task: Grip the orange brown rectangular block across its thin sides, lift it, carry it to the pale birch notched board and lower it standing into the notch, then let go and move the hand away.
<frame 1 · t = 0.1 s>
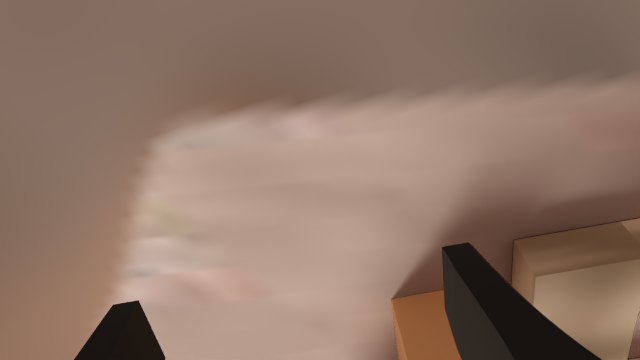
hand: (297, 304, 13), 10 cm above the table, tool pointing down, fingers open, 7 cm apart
orange brown rectangular block: (423, 328, 29), on the table
notched board: (610, 322, 30), on the table
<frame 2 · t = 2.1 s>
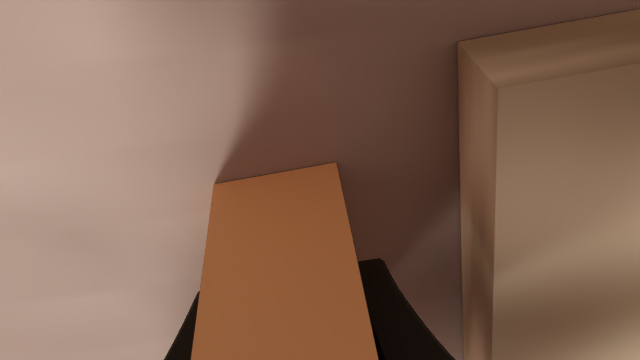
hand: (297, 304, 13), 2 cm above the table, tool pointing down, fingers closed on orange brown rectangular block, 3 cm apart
orange brown rectangular block: (293, 251, 15), on the table, touching gripper
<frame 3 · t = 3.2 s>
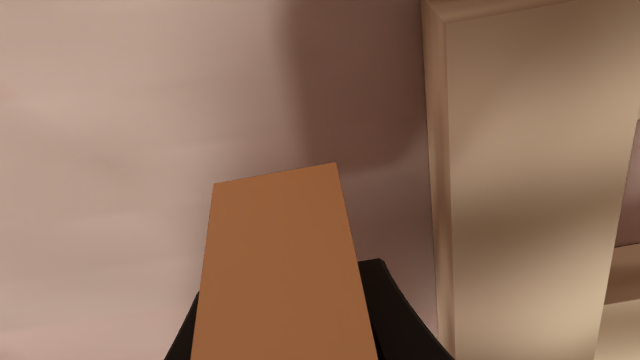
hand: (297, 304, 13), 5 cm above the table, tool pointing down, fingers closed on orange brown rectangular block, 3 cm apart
orange brown rectangular block: (293, 250, 15), point 3 cm above the table, touching gripper
notched board: (593, 175, 19), on the table
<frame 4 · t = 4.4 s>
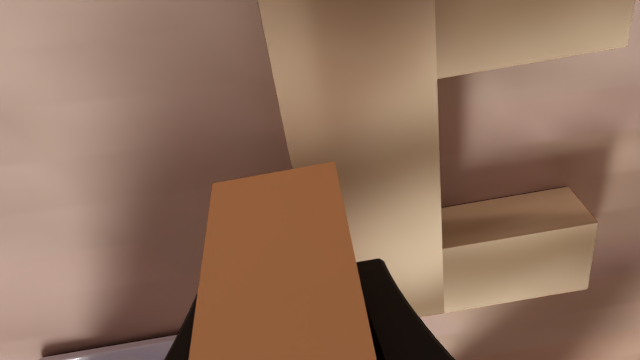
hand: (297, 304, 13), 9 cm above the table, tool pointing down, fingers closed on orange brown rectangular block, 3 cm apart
orange brown rectangular block: (292, 250, 15), point 7 cm above the table, touching gripper
notched board: (435, 135, 21), on the table
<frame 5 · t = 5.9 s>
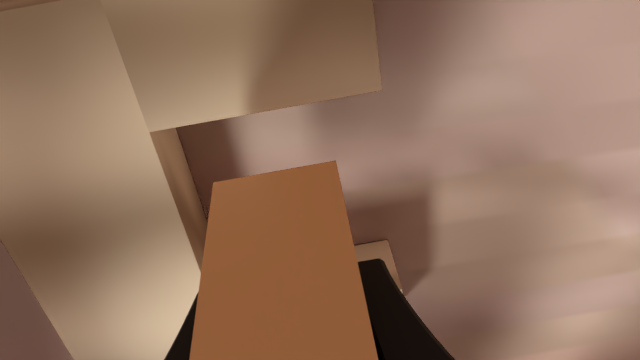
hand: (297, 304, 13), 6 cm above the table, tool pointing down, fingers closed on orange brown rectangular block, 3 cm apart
orange brown rectangular block: (293, 249, 15), point 4 cm above the table, touching gripper
notched board: (211, 187, 18), on the table
when the fingers open (3 cm above the table, at t = 6.8 s): orange brown rectangular block drops 1 cm, on the table.
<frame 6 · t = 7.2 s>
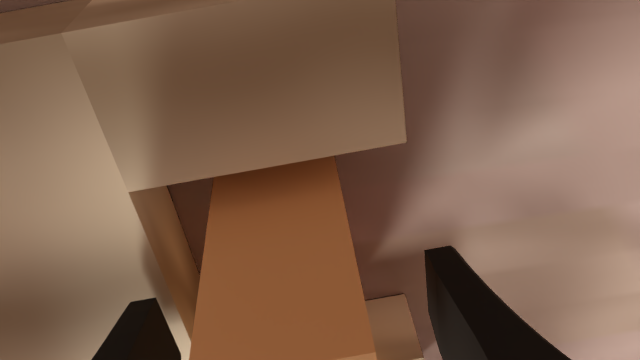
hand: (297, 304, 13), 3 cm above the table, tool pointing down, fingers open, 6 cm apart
orange brown rectangular block: (291, 221, 16), on the table
notched board: (205, 239, 16), on the table
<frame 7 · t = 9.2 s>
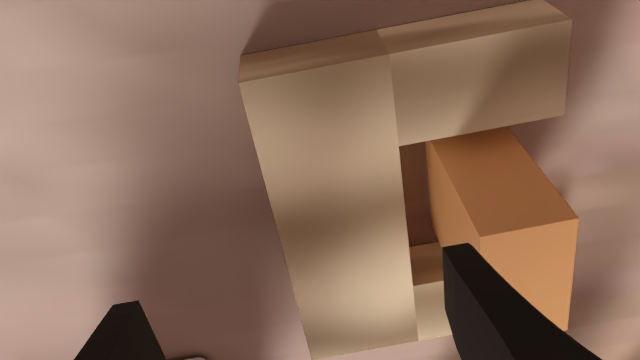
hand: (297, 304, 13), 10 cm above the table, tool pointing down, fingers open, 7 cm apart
orange brown rectangular block: (462, 172, 24), on the table
notched board: (405, 185, 24), on the table
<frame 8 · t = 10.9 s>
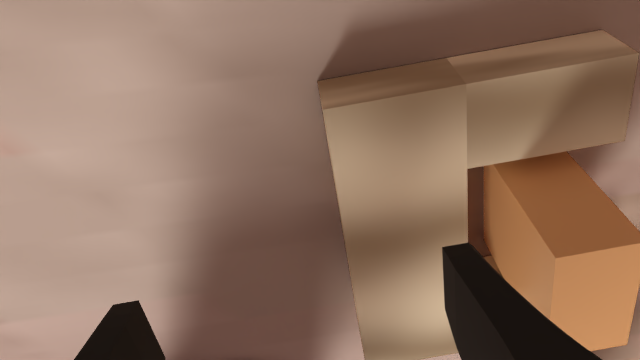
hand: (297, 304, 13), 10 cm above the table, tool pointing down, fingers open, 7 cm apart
orange brown rectangular block: (516, 191, 25), on the table
notched board: (461, 202, 25), on the table
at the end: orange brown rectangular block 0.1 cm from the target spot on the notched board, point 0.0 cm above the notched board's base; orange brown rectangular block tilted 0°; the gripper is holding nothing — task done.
